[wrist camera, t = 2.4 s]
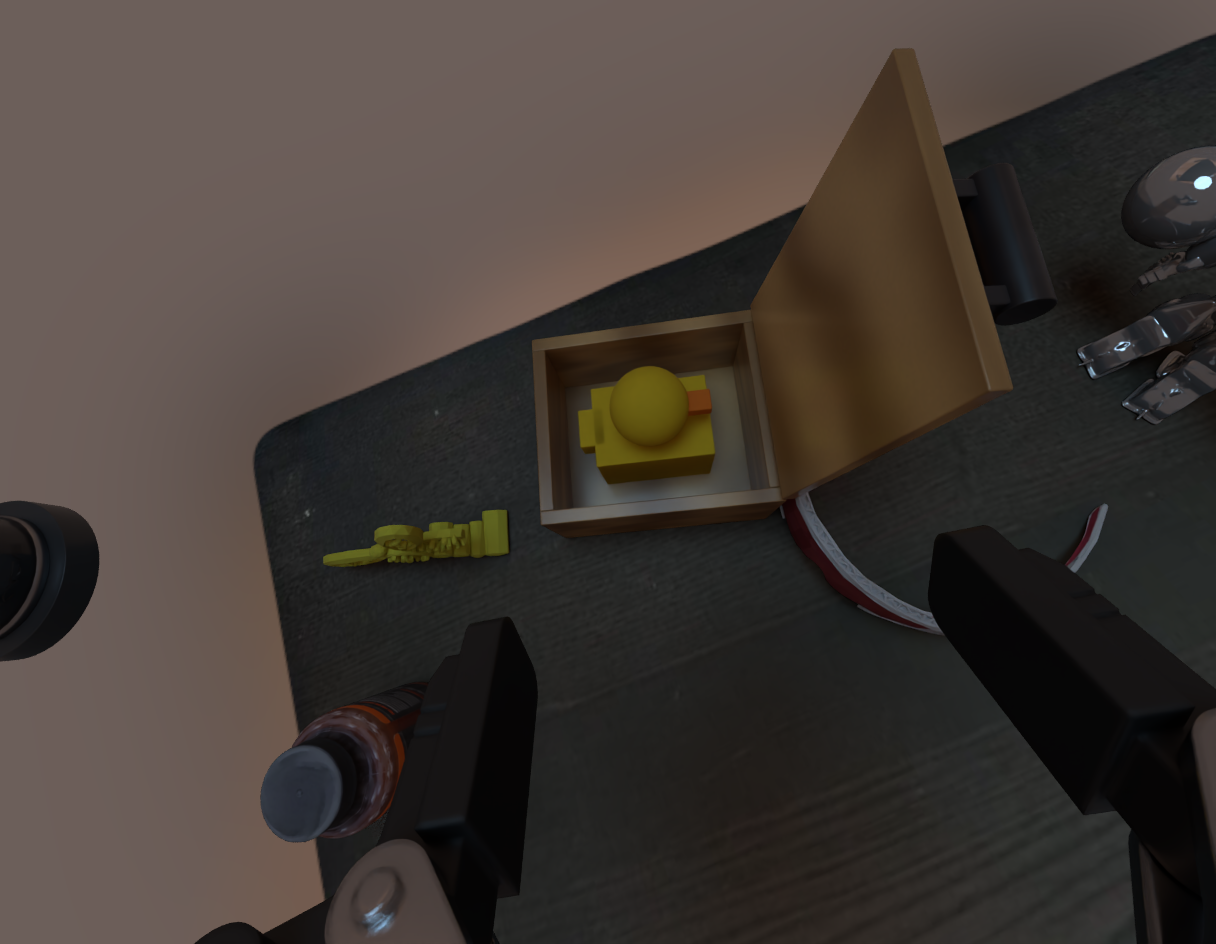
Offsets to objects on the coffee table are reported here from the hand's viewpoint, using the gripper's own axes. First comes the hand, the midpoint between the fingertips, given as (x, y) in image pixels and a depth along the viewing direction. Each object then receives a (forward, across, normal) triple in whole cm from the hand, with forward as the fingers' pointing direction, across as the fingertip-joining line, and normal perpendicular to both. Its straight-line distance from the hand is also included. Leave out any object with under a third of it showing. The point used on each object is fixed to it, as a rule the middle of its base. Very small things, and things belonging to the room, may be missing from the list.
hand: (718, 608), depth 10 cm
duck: (+24, 0, +9) cm, 26 cm away
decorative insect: (+23, +18, +12) cm, 31 cm away
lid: (+14, -8, 0) cm, 16 cm away
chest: (+25, 0, +10) cm, 27 cm away
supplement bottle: (+14, +19, +21) cm, 32 cm away
